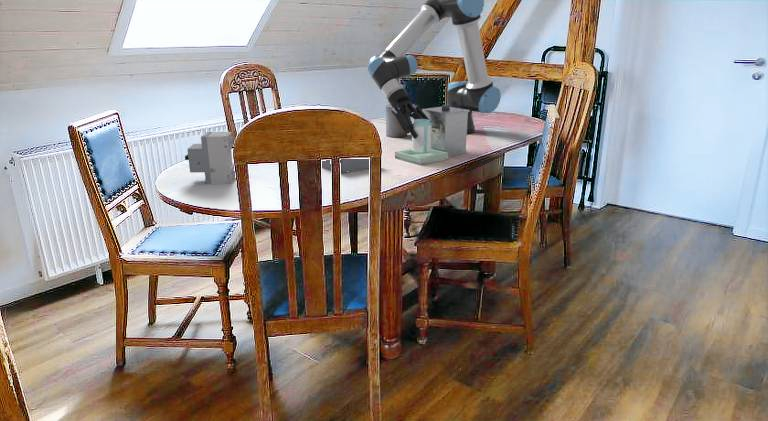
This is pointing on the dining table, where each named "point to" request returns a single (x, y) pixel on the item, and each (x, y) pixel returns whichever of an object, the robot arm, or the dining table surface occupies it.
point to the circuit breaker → (213, 157)
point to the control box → (448, 128)
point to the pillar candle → (393, 124)
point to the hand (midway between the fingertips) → (429, 142)
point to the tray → (421, 156)
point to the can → (425, 131)
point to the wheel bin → (348, 164)
